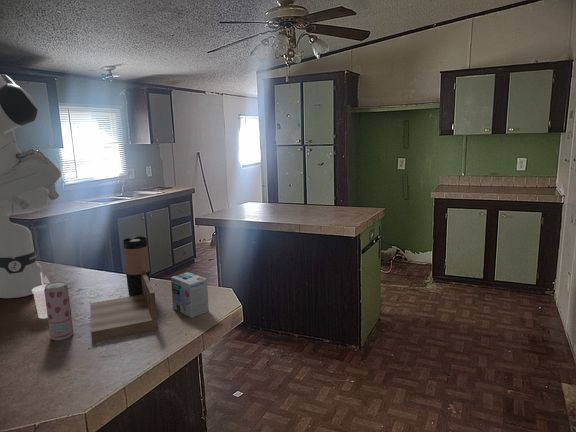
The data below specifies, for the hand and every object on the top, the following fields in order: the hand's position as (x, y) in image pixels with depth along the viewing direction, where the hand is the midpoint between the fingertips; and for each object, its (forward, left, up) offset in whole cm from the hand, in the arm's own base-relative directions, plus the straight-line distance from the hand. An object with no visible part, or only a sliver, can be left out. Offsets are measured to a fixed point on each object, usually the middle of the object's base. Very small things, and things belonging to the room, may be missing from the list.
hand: (41, 203), depth 110 cm
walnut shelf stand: (-2, +17, -37) cm, 41 cm away
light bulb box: (0, +37, -38) cm, 53 cm away
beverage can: (+1, +1, -38) cm, 38 cm away
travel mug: (-21, +24, -38) cm, 49 cm away
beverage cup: (-17, -4, -38) cm, 42 cm away
